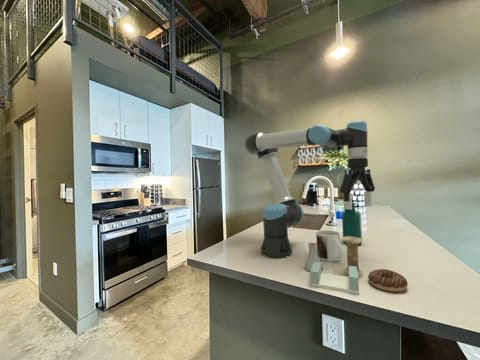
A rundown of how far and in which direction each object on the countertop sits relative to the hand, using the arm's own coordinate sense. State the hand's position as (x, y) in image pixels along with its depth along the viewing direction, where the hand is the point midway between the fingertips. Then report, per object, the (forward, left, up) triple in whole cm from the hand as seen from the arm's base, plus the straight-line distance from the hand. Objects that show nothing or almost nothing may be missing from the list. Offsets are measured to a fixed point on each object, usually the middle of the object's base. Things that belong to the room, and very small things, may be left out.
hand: (358, 207), depth 90 cm
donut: (+6, -21, -23) cm, 32 cm away
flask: (-17, -16, -23) cm, 33 cm away
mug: (-12, -2, -23) cm, 26 cm away
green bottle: (-2, +24, -23) cm, 33 cm away
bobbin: (-3, -15, -22) cm, 27 cm away
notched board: (-9, -26, -22) cm, 36 cm away
